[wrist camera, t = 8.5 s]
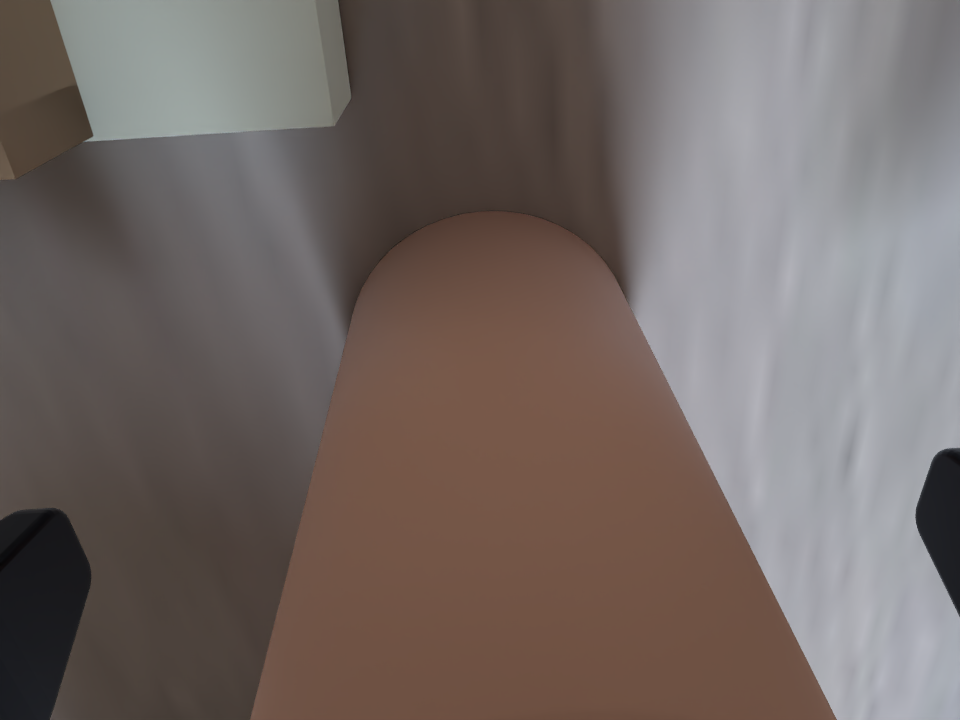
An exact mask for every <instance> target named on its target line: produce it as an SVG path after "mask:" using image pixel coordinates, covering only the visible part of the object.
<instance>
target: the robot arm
mask: <svg viewBox="0 0 960 720" xmlns="http://www.w3.org/2000/svg"><path fill="white" fill-rule="evenodd" d="M916 524H917V528H918V531H919V534H920V536H921V538H922V540H923V542H924V544H925V546H926V548H927V550H928V552H929V554H930V557H931V559H932V561H933V563H934V565H935V567H936V569H937V571H938V573H939V575H940V577H941V579H942V581H943V583H944V585H945V587H946V589H947V591H948V594H949V596H950V598H951V600H952V602H953V604H954V606H955V608H956V610H957V612H958V614H959V616H960V448H949V449H944V450H942V451H940V452H938V453H937V454H936V455H935V457H934V458H933V460H932V463H931V466H930V468H929V471H928V474H927V477H926V480H925V483H924V486H923V489H922V492H921V495H920V498H919V501H918V504H917V507H916ZM90 583H91V570H90V565H89V562H88V560H87V557H86V555H85V553H84V551H83V549H82V547H81V544H80V542H79V540H78V538H77V536H76V533H75V531H74V529H73V527H72V525H71V522H70V520H69V518H68V517H67V515H66V514H65V513H64V512H63V511H61V510H60V509H56V508H44V509H29V510H20V511H17V512H14V513H12V514H10V515H9V516H7V517H5V518H4V519H2V520H1V521H0V720H50V717H51V714H52V711H53V708H54V705H55V702H56V698H57V695H58V692H59V688H60V685H61V682H62V679H63V675H64V672H65V669H66V665H67V662H68V659H69V655H70V652H71V649H72V645H73V642H74V639H75V636H76V632H77V629H78V626H79V622H80V619H81V616H82V612H83V609H84V606H85V602H86V599H87V596H88V593H89V589H90Z"/></svg>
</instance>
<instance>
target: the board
mask: <svg viewBox="0 0 960 720" xmlns="http://www.w3.org/2000/svg"><path fill="white" fill-rule="evenodd" d="M350 100H351V91H350V84H349V76H348V69H347V62H346V54H345V47H344V40H343V32H342V25H341V18H340V11H339V3H338V0H0V180H10V179H17V178H19V177H20V176H22V175H24V174H26V173H28V172H29V171H31V170H33V169H35V168H37V167H39V166H40V165H42V164H44V163H46V162H48V161H49V160H51V159H53V158H55V157H57V156H58V155H60V154H62V153H64V152H66V151H68V150H69V149H71V148H73V147H75V146H77V145H78V144H80V143H82V142H90V141H106V140H122V139H138V138H154V137H170V136H186V135H202V134H218V133H234V132H250V131H266V130H282V129H298V128H314V127H330V126H335V124H336V123H337V121H338V119H339V118H340V116H341V114H342V113H343V111H344V109H345V108H346V106H347V105H348V103H349V101H350Z"/></svg>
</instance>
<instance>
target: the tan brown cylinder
mask: <svg viewBox="0 0 960 720" xmlns="http://www.w3.org/2000/svg"><path fill="white" fill-rule="evenodd" d="M250 720H837V719H836V717H835V715H834V713H833V711H832V709H831V707H830V705H829V703H828V701H827V699H826V697H825V695H824V693H823V691H822V689H821V687H820V685H819V683H818V681H817V679H816V677H815V675H814V673H813V671H812V669H811V667H810V665H809V663H808V661H807V659H806V658H805V656H804V654H803V652H802V650H801V648H800V646H799V644H798V642H797V640H796V638H795V636H794V634H793V632H792V630H791V628H790V626H789V624H788V622H787V620H786V618H785V616H784V614H783V612H782V610H781V608H780V606H779V604H778V602H777V600H776V598H775V596H774V594H773V592H772V590H771V588H770V586H769V584H768V582H767V580H766V578H765V576H764V574H763V572H762V570H761V568H760V566H759V564H758V562H757V560H756V558H755V556H754V554H753V552H752V550H751V548H750V546H749V544H748V542H747V540H746V538H745V536H744V534H743V532H742V530H741V528H740V526H739V524H738V522H737V520H736V518H735V516H734V514H733V512H732V510H731V508H730V506H729V504H728V502H727V500H726V498H725V496H724V494H723V492H722V490H721V488H720V486H719V484H718V482H717V480H716V478H715V476H714V474H713V472H712V470H711V468H710V466H709V464H708V462H707V460H706V458H705V456H704V454H703V452H702V450H701V448H700V446H699V444H698V442H697V440H696V438H695V436H694V434H693V432H692V430H691V428H690V426H689V424H688V422H687V420H686V418H685V416H684V414H683V412H682V410H681V408H680V406H679V404H678V402H677V400H676V398H675V396H674V394H673V392H672V390H671V388H670V386H669V384H668V382H667V380H666V378H665V376H664V374H663V372H662V370H661V368H660V366H659V364H658V362H657V360H656V358H655V356H654V354H653V352H652V350H651V348H650V346H649V344H648V342H647V340H646V338H645V336H644V334H643V332H642V330H641V328H640V326H639V324H638V322H637V320H636V318H635V316H634V314H633V312H632V310H631V308H630V306H629V304H628V302H627V300H626V298H625V296H624V294H623V292H622V290H621V288H620V286H619V284H618V282H617V280H616V278H615V276H614V274H613V273H612V271H611V270H610V268H609V267H608V266H607V264H606V263H605V261H604V260H603V259H602V258H601V257H600V256H599V255H598V254H597V253H596V251H595V250H594V249H593V248H592V247H591V246H589V245H588V244H587V243H586V242H584V241H583V240H582V239H580V238H579V237H578V236H577V235H575V234H573V233H572V232H570V231H568V230H566V229H565V228H563V227H561V226H559V225H557V224H554V223H552V222H549V221H547V220H544V219H542V218H538V217H534V216H530V215H527V214H522V213H514V212H506V211H481V212H473V213H465V214H460V215H457V216H453V217H449V218H445V219H442V220H440V221H437V222H435V223H432V224H430V225H427V226H425V227H423V228H422V229H420V230H418V231H416V232H414V233H413V234H411V235H409V236H408V237H406V238H405V239H404V240H402V241H401V242H400V243H398V244H397V245H396V246H394V247H393V248H392V249H391V250H390V251H389V252H388V253H387V254H386V255H385V256H384V257H383V258H382V259H381V260H380V261H379V263H378V264H377V265H376V267H375V268H374V269H373V270H372V272H371V273H370V274H369V276H368V278H367V280H366V282H365V283H364V285H363V287H362V289H361V291H360V294H359V296H358V299H357V302H356V304H355V307H354V311H353V315H352V319H351V323H350V327H349V331H348V335H347V339H346V343H345V347H344V351H343V355H342V359H341V363H340V367H339V371H338V374H337V378H336V382H335V386H334V390H333V394H332V398H331V402H330V406H329V410H328V414H327V418H326V422H325V426H324V430H323V434H322V438H321V442H320V446H319V449H318V453H317V457H316V461H315V465H314V469H313V473H312V477H311V481H310V485H309V489H308V493H307V497H306V501H305V505H304V509H303V513H302V517H301V521H300V524H299V528H298V532H297V536H296V540H295V544H294V548H293V552H292V556H291V560H290V564H289V568H288V572H287V576H286V580H285V584H284V588H283V592H282V596H281V599H280V603H279V607H278V611H277V615H276V619H275V623H274V627H273V631H272V635H271V639H270V643H269V647H268V651H267V655H266V659H265V663H264V667H263V671H262V674H261V678H260V682H259V686H258V690H257V694H256V698H255V702H254V706H253V710H252V714H251V718H250Z"/></svg>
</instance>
